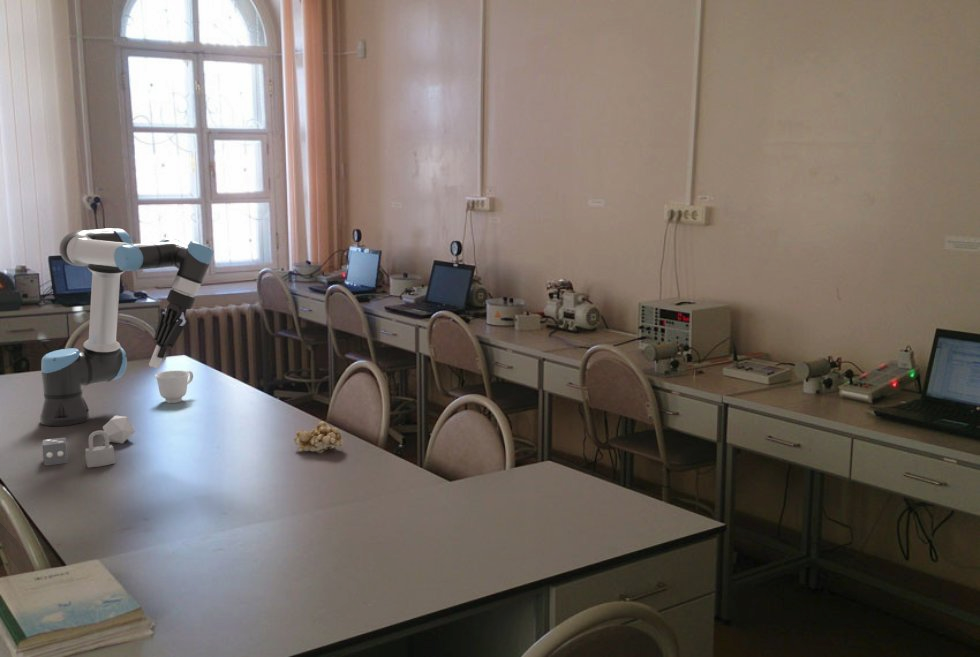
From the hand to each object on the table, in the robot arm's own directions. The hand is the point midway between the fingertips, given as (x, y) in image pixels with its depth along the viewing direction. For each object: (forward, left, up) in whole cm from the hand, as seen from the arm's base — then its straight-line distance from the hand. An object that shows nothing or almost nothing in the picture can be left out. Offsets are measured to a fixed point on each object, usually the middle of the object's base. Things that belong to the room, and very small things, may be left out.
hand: (153, 366), depth 270 cm
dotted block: (-16, -23, -25) cm, 38 cm away
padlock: (-2, -19, -25) cm, 32 cm away
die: (-16, -1, -25) cm, 30 cm away
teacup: (-40, +44, -25) cm, 65 cm away
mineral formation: (+45, +21, -25) cm, 55 cm away
